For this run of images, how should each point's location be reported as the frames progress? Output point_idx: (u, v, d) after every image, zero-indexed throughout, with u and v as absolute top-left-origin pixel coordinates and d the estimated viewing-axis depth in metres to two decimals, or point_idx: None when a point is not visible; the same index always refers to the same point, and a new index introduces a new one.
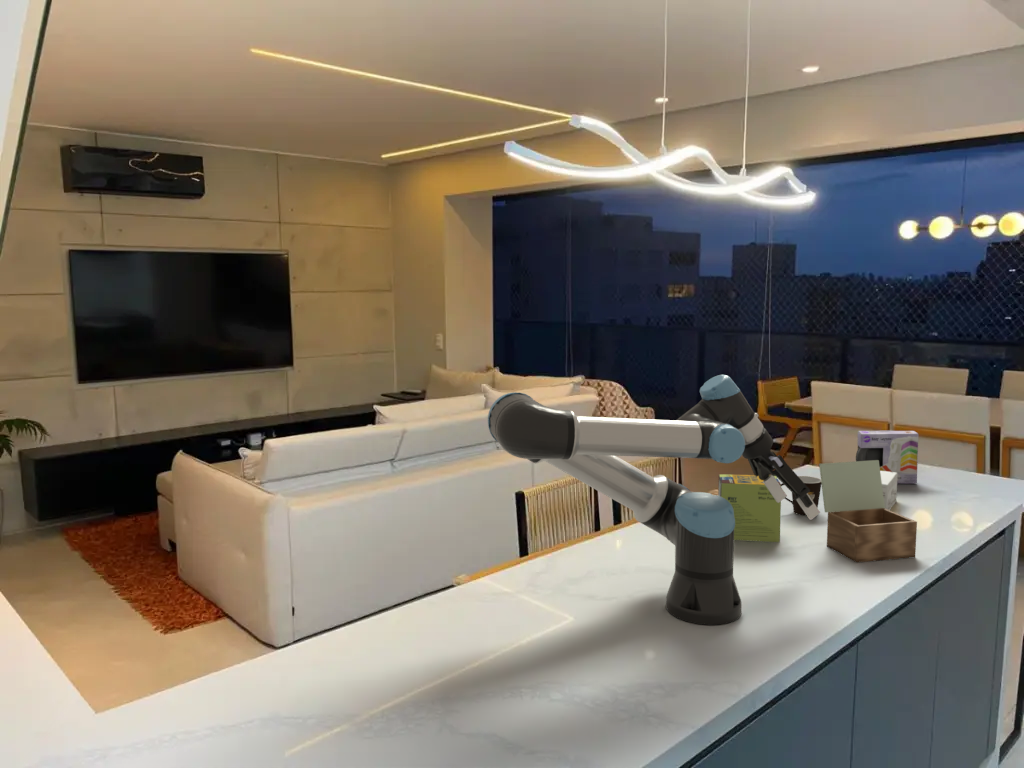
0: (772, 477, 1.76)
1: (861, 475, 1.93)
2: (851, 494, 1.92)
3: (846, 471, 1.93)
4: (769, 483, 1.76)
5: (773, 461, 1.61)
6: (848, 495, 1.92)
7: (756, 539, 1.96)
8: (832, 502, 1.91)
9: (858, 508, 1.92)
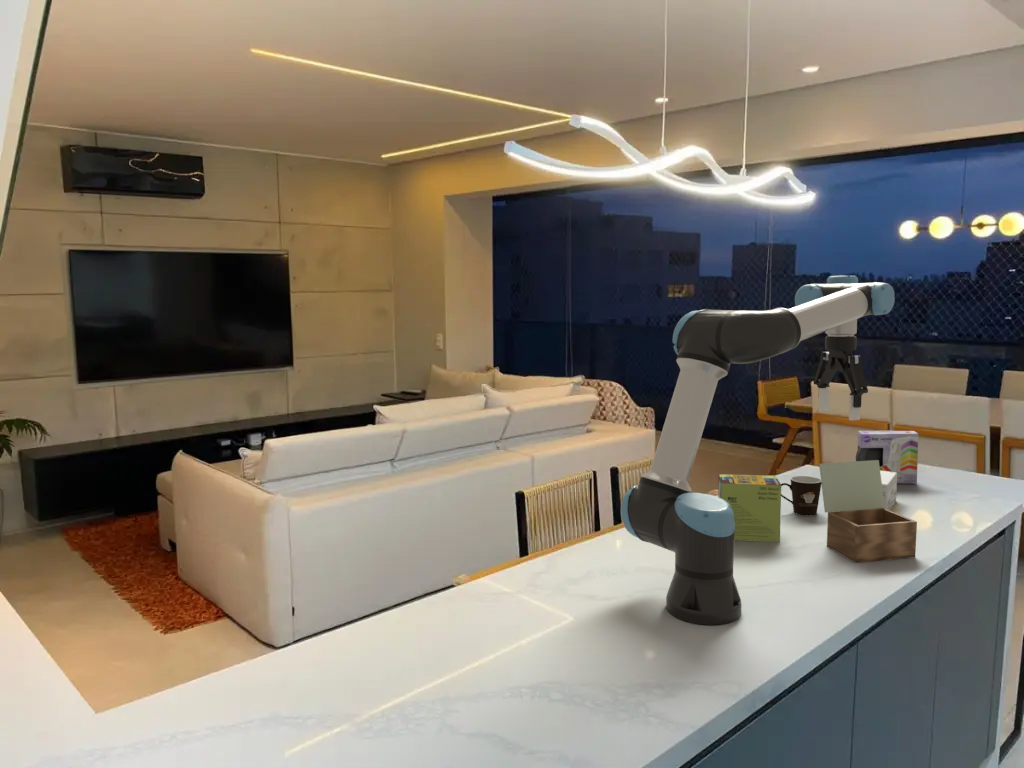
0: (828, 389, 2.03)
1: (861, 475, 1.93)
2: (851, 494, 1.92)
3: (846, 471, 1.93)
4: (823, 392, 2.02)
5: (853, 356, 1.89)
6: (848, 495, 1.92)
7: (756, 539, 1.96)
8: (832, 502, 1.91)
9: (858, 508, 1.92)
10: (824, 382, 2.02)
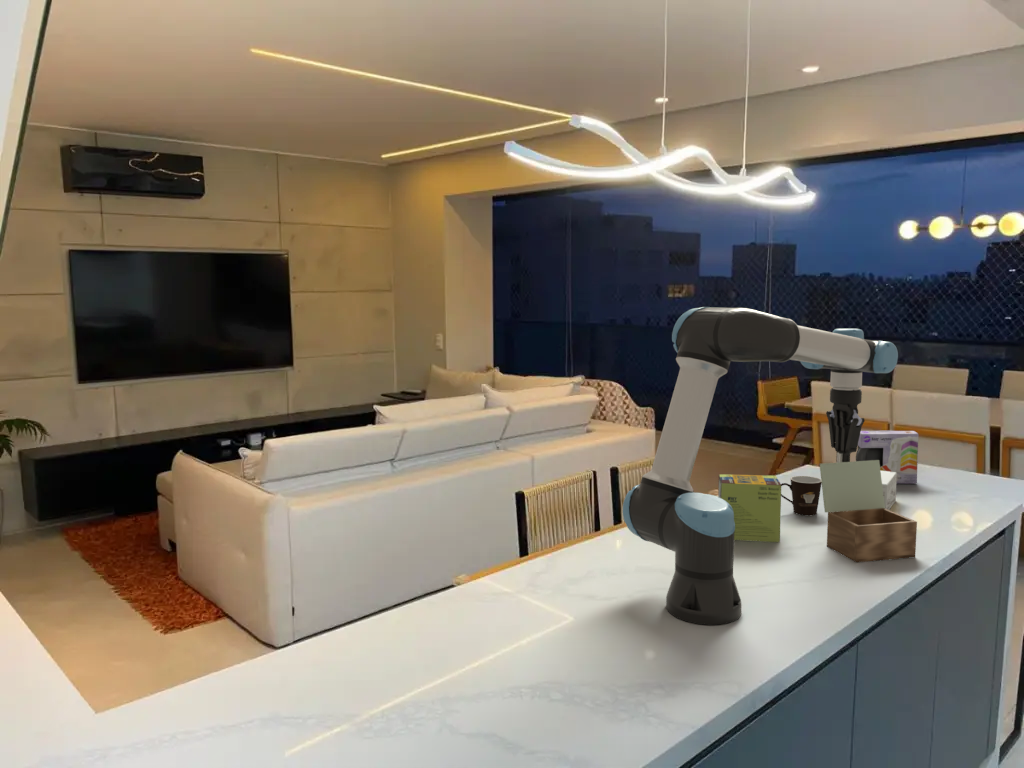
0: None
1: (862, 475, 1.93)
2: (851, 494, 1.92)
3: (846, 471, 1.93)
4: None
5: (857, 420, 1.88)
6: (848, 495, 1.92)
7: (756, 539, 1.96)
8: (832, 502, 1.91)
9: (858, 508, 1.92)
10: (840, 443, 1.96)
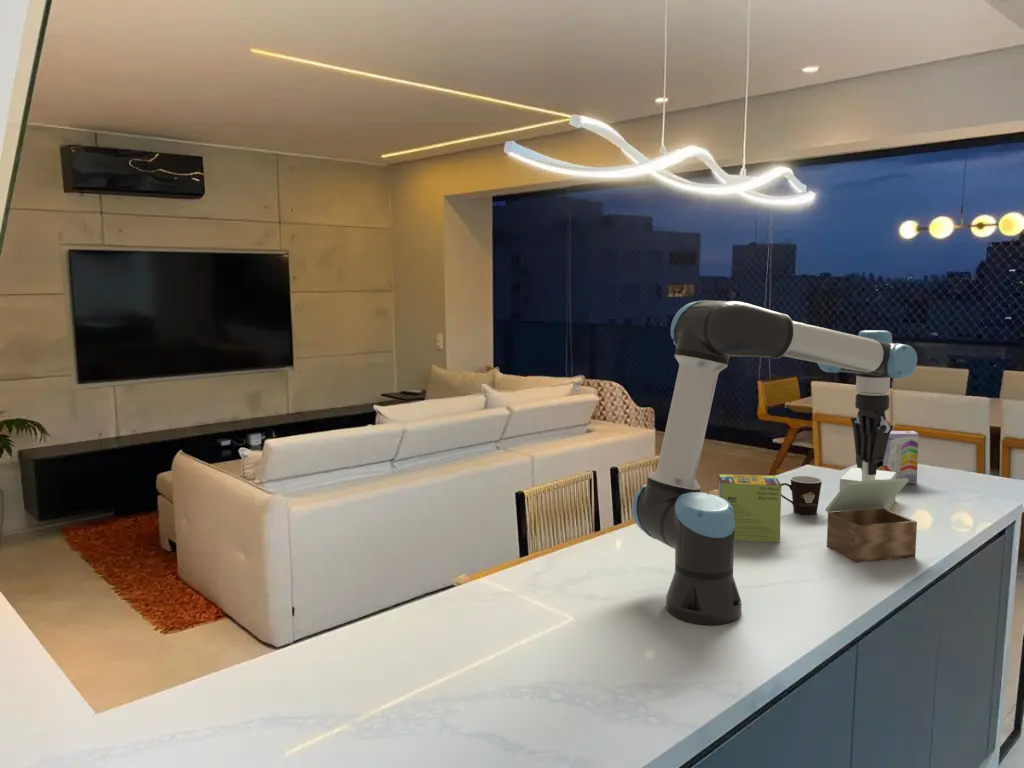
0: None
1: (882, 490, 1.85)
2: (860, 501, 1.88)
3: (869, 488, 1.84)
4: None
5: (885, 427, 1.78)
6: (857, 502, 1.88)
7: (756, 539, 1.96)
8: (837, 506, 1.89)
9: (859, 508, 1.91)
10: (866, 451, 1.86)
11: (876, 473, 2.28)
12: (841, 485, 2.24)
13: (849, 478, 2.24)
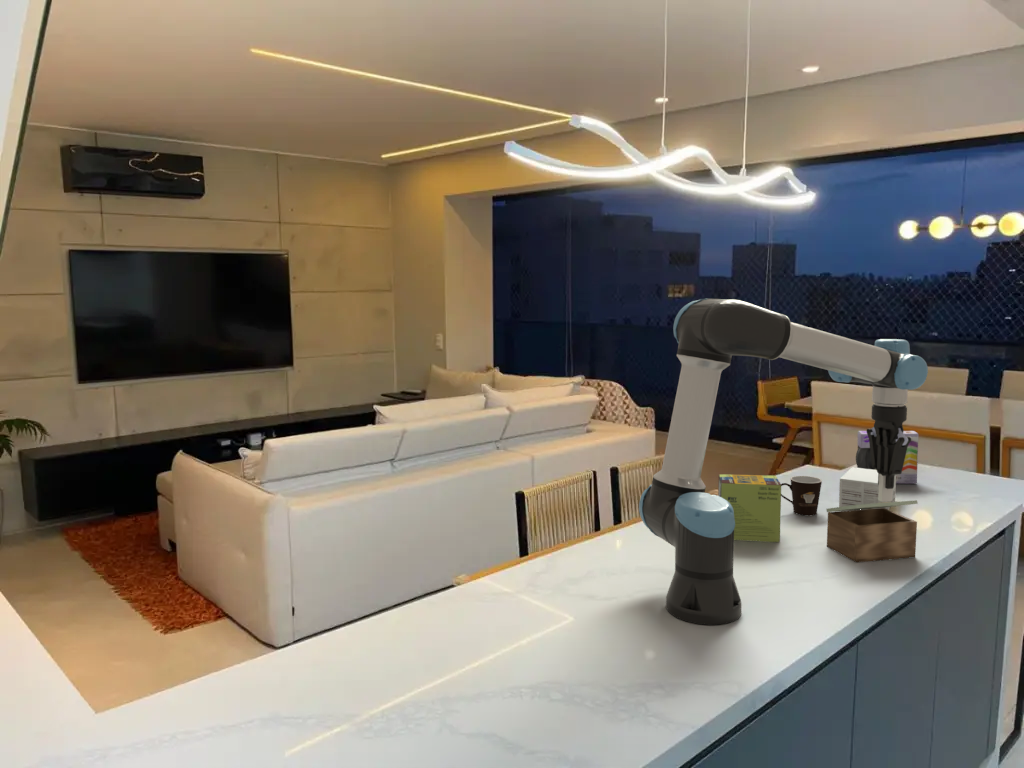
0: None
1: None
2: None
3: None
4: None
5: (903, 439, 1.72)
6: None
7: (756, 539, 1.96)
8: None
9: (859, 509, 1.91)
10: (883, 463, 1.80)
11: (876, 473, 2.28)
12: (841, 485, 2.24)
13: (849, 478, 2.24)
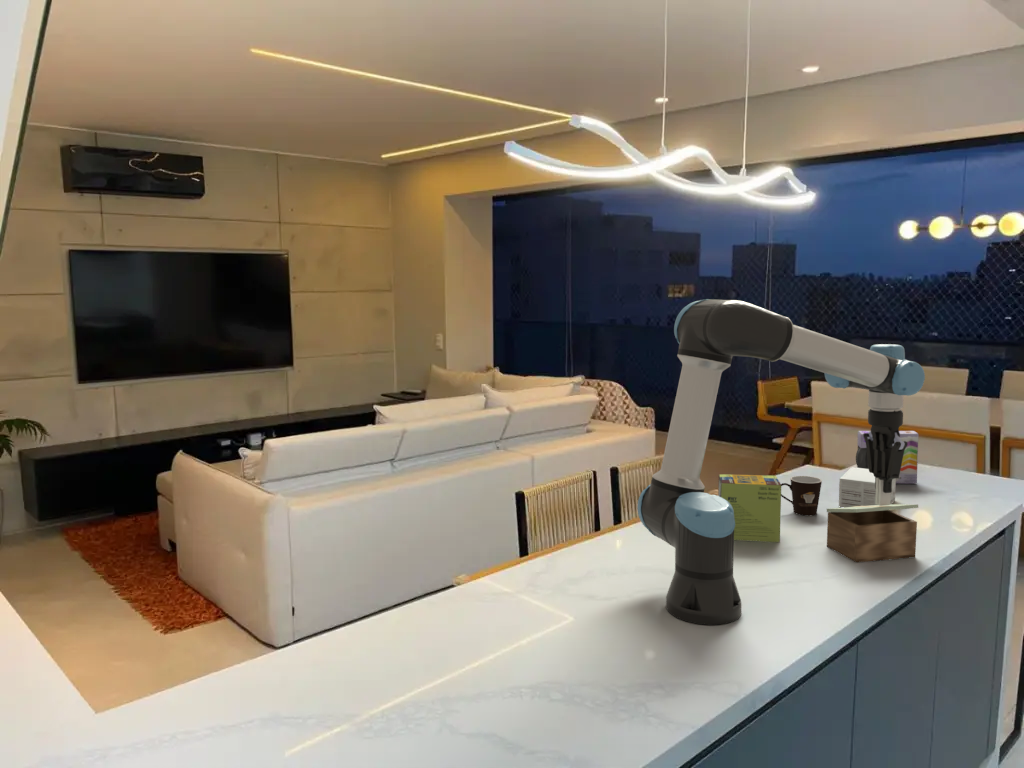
0: None
1: None
2: None
3: None
4: None
5: (899, 444, 1.73)
6: None
7: (756, 539, 1.96)
8: None
9: None
10: (879, 467, 1.81)
11: None
12: (841, 485, 2.24)
13: (849, 478, 2.24)
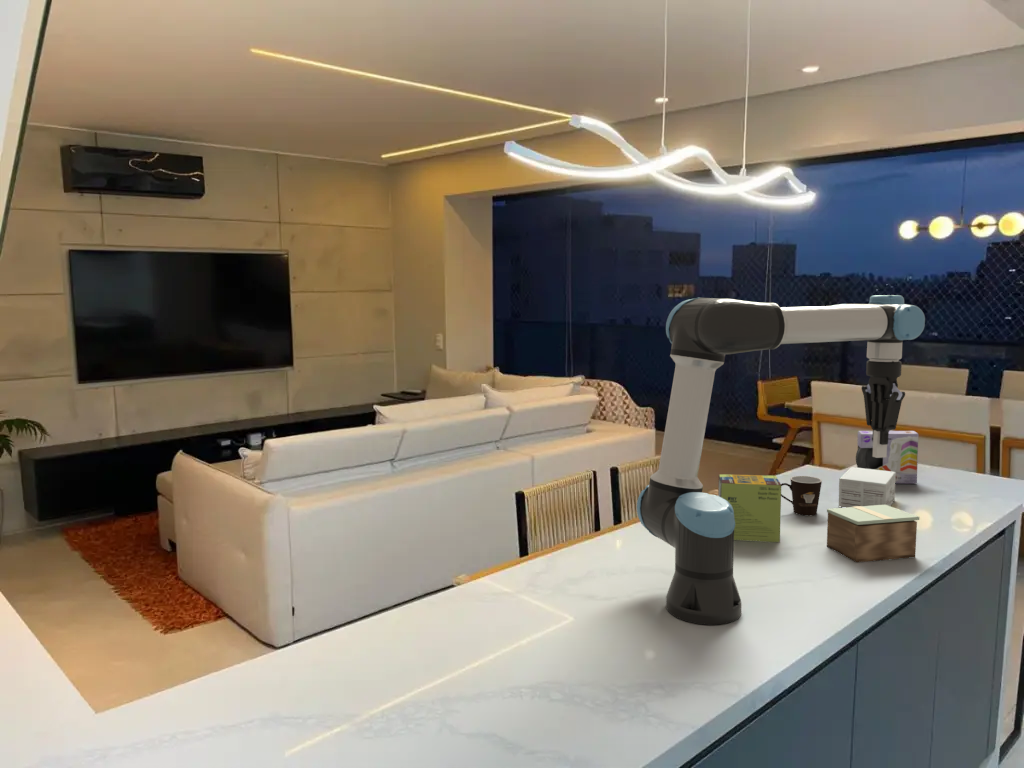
0: None
1: None
2: None
3: None
4: None
5: (897, 394, 1.72)
6: None
7: (756, 539, 1.96)
8: None
9: None
10: (877, 420, 1.80)
11: (875, 473, 2.29)
12: (840, 485, 2.24)
13: (848, 478, 2.24)
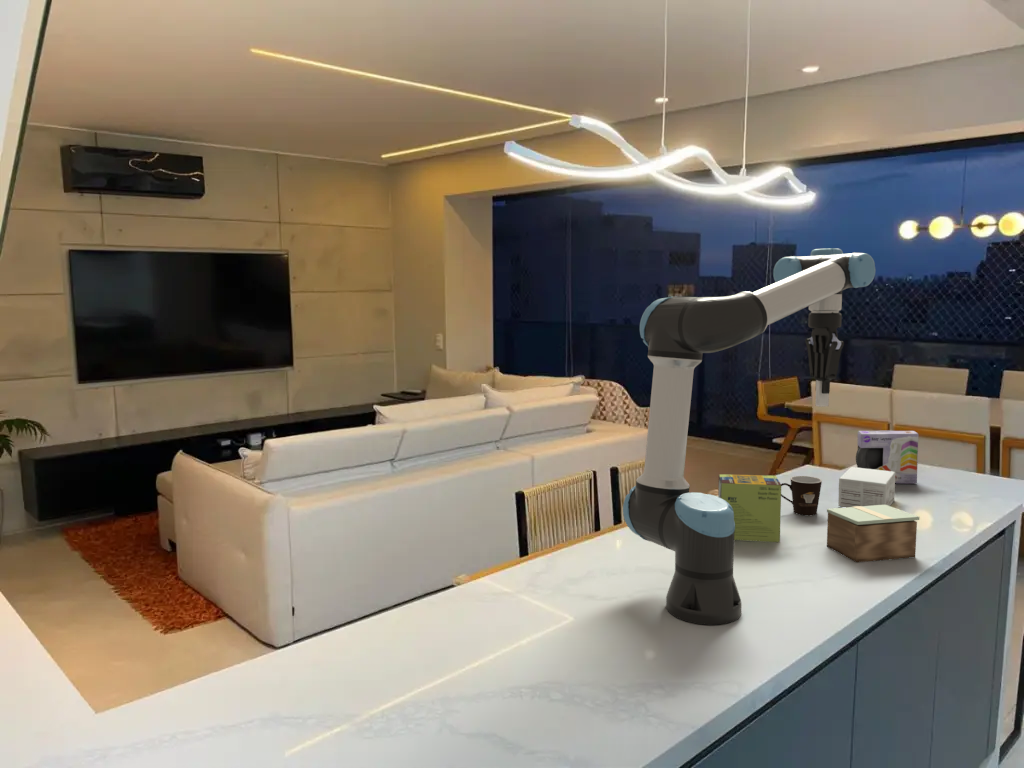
0: None
1: None
2: None
3: None
4: None
5: (836, 343, 1.79)
6: None
7: (756, 539, 1.96)
8: None
9: None
10: (819, 370, 1.87)
11: (875, 473, 2.29)
12: (840, 484, 2.24)
13: (848, 478, 2.24)
